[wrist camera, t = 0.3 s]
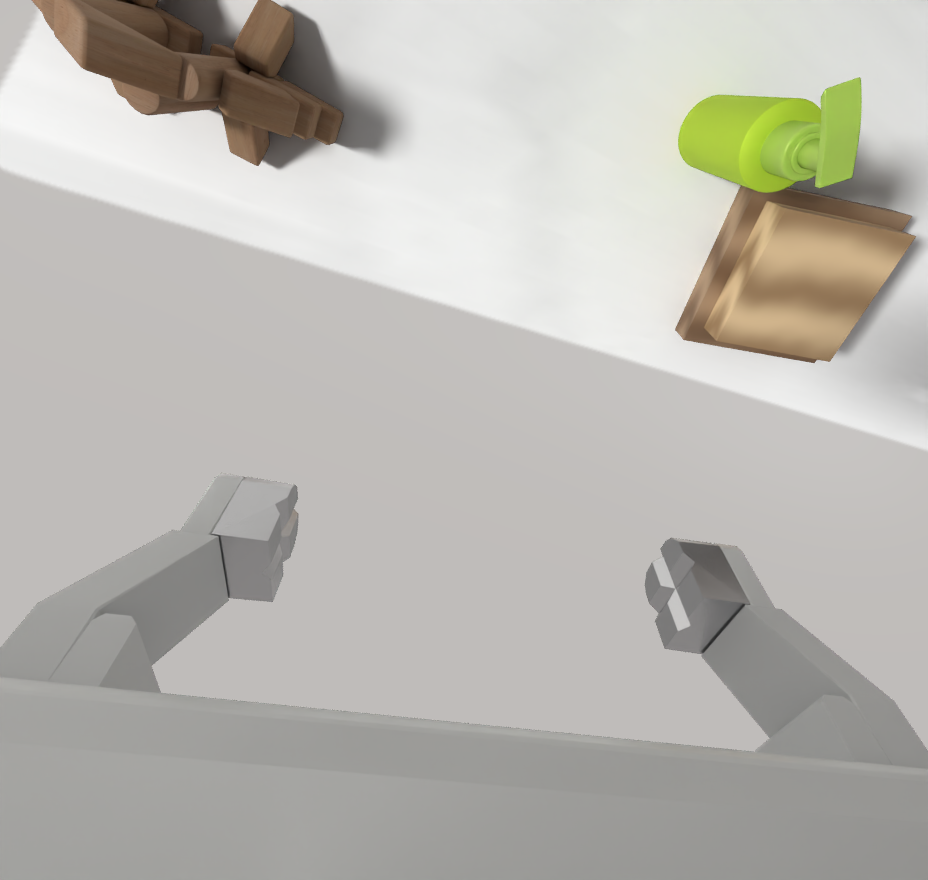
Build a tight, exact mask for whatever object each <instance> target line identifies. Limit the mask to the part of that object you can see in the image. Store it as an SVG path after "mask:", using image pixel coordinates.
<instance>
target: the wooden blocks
mask: <svg viewBox="0 0 928 880" xmlns="http://www.w3.org/2000/svg"><path fill="white" fill-rule="evenodd" d="M32 1H33V2H34V3H35V5H36V6H37V7H38V8H39V9H40V11H41V12H42V13H43V16H44V18H45V20H46V22H47V23H48V25H49V26H50V28H51V29H52V30H53V31H54V34H55V36H56V38H57V39H58V40H59V41H60V43H61V44H62V45H63V46H64V47H65V49H66V50H67V51H68V52H69V53H70V55H71V56H72V57H73V58H74V59H75V61H76V62H77V63H78V64H79V65H80V67H82V68H83V69H85V70H87V71H90V72H93V73H96V74H99V75H102V76H105V77H108V78H111V80H112V82H113V85H114V87H115V89H116V91H117V93H118V94H119V95H120V96H122V97H124V98H126V99H127V101H128V102H129V104H130V105H131V106H132V107H133V108H134V109H135V110H137V111H138V112H140V113H142V114H145V115H157V114H167V113H178V112H188V111H199V110H209V109H214V108H215V107H217V105H218V104H219V105H218V106H219V109H220V110H221V111H222V115H223V120H224V125H225V130H226V134H227V139H228V144H229V149H230V152H231V153H233V154H235V155H237V156H239V157H241V158H243V159H244V160H246V161H248V162H250V163H252V164H254V165H256V166H259V164H260V163H261V161H262V159H263V157H264V155H265V153H266V151H267V149H268V147H269V134H268V131H271V132H274V133H277V134H280V135H283V136H285V137H289V138H290V137H292V134H294V135H296V136H298V137H300V138H302V139H304V140H307V139H310V138H315V139H317V140H319V141H321V142H322V143H324V144H326V145H330V144H333V143H335V142H336V139H337V136H338V132H339V129H340V126H341V123H342V119H343V113H342V112H341V111H340V110H338V109H336V108H334V107H333V106H331V105H329V104H327V103H326V102H324V101H322V100H320V99H319V98H317V97H315V96H313V95H312V94H310V93H308V92H306V91H305V90H303V89H301V88H299V87H298V86H296V85H294V84H292V83H291V82H289V81H284V79H283V78H282V77H280V76H278V75H277V73H278V71H279V69H280V68H281V66H282V64H283V62H284V60H285V58H286V56H287V54H288V52H289V50H290V48H291V46H292V44H293V43H294V16H293V14H292V13H291V12H290V11H288V10H286V9H285V8H283V7H281V6H280V5H278V4H276V3H275V2H273V1H271V0H258V2H257V3H256V5H255V7H254V9H253V11H252V12H251V14H250V16H249V18H248V20H247V21H246V23H245V25H244V27H243V29H242V30H241V32H240V34H239V36H238V38H237V39H236V41H235V43H234V50H232V49H231V48H229V47H227V46H225V45H219V44H212V45H211V49H210V56H209V55H200V54H201V47H202V40H203V34H202V33H201V31H199V30H197V29H196V28H194V27H192V26H190V25H189V24H187V23H185V22H183V21H182V20H180V19H178V18H176V17H174V16H173V15H171V14H169V13H167V12H166V11H164V10H162V9H160V8H159V7H157V6H155V5H156V3H157V2H158V0H32Z"/></svg>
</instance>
